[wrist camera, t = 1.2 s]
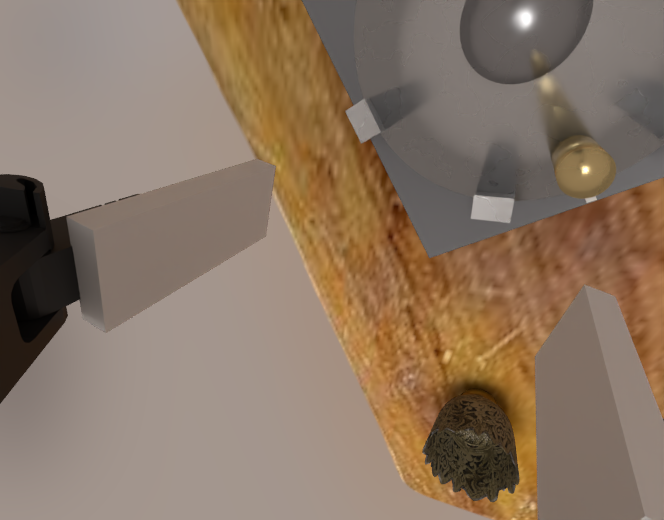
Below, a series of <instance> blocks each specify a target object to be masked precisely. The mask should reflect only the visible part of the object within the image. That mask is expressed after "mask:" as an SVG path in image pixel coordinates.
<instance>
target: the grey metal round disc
mask: <svg viewBox="0 0 664 520" xmlns="http://www.w3.org/2000/svg"><path fill="white" fill-rule="evenodd" d="M354 51H355V62H356V68H357V75H358V80H359V84H360V88H361V91H362V95H363V98H364V99H363V100H361V101H360V102H358V103H357V104H355V105H354V106H352V107H351V108H349V109H348V110H346V111H345V112H346V114H347V116H348V118H349V120H350V122H351V124H352V126H353V128H354V130H355V132H356V134H357V136H358V138H359V140H360V142H361V143H364V142H366V141H368V140H370V139H371V138H373V137H375V136H377V135H378V134H381V135H382V137H383V138H384V139H385V141H386V142H387V143H388V145H389V146H390V147H391V149H392V150H393V151H394V152H395V153H396V154H397V155H398V156H399V157H400V158H401V159H402V160H403V161H404V162H405V163H406V164H407V165H409V166H410V167H411V168H412V169H414V170H415V171H416V172H417V173H419V174H420V175H422V176H423V177H425V178H427V179H428V180H430V181H432V182H433V183H435V184H437V185H439V186H442V187H444V188H446V189H449V190H451V191H453V192H457V193H460V194H464V195H467V196H471V197H474V199H473V206H472V213H471V219H478V220H487V221H496V222H504V223H510V221H511V215H512V210H513V205H514V201H524V200H536V199H543V198H548V197H553V196H558V195H563V194H566V195H568V196H570V197H573V198H579V199H585V198H591V197H594V196H597V195H599V194H601V193H602V192H604V191H605V190H606V189H608V188H609V186H610V185H611V184H612V182H613V181H614V179H615V176H616V174H618V173H619V172H621V171H623V170H625V169H627V168H628V167H630V166H632V165H634V164H636V163H638V162H639V161H641V160H642V159H644V158H645V157H646V156H648V155H649V154H651V153H652V152H654V151H655V150H657V149H658V148H659V147H661V146H662V145H664V0H357V3H356V10H355V22H354Z"/></svg>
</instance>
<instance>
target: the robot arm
mask: <svg viewBox="0 0 664 520" xmlns="http://www.w3.org/2000/svg"><path fill="white" fill-rule="evenodd" d="M275 168H276V166H274V165H272V164H269V163H267V162H264V161H261V160H259V159H255V160H252V161H249V162H246V163H242V164H239V165H235V166H232V167H229V168H225V169H222V170H219V171H215V172H212V173H209V174H205V175H202V176H199V177H196V178H192V179H189V180H186V181H183V182H179V183H176V184H172V185H169V186H166V187H163V188H159V189H156V190H153V191H149V192H146V193H143V194H136V195H132V196H129V197H126V198H122V199H119V201H112V202H109V203H106V204H105V205H103V206H102V205H99V206H95V207H92V208H89V209H85V210H82V211H79V212H75V213H72V214H69V215H65V216H62V217H59V218H56V219H52V220H50V217H49V212H48V206H47V201H46V196H45V191H44V186H43V183H42V182H40V181H38V180H37V179H34V178H30V177H27V176H21V175H10V174H4V175H0V403H1V402H2V401H3V399H4V398H5V397H6V396H7V395H8V393H9V392H10V391H11V389H12V388H13V387H14V385H15V384H16V383H17V382H18V381H19V379H20V378H21V377H22V376H23V374H24V373H25V372H26V370H27V369H28V368H29V367H30V366H31V364H32V363H33V362H34V360H35V359H36V358H37V356H38V355H39V354H40V353H41V352H42V350H43V349H44V348H45V346H46V345H47V344H48V343H49V342H50V340H51V339H52V338H53V336H54V335H55V334H56V333H57V331H58V330H59V329H60V328H61V326H62V325H63V324H64V323H65V321H66V318H67V316H68V314H67V309H66V306H67V305H69V304H71V303H73V302H75V301H77V300H79V299H80V305H81V312H82V318H83V320H85V321H87V322H88V323H90V324H92V325H93V326H95V327H97V328H98V329H100V330H102V331H103V332H105V333H107V332H108V331H110V330H112V329H113V328H115V327H117V326H118V325H120V324H122V323H123V322H125V321H127V320H128V319H130V318H132V317H133V316H135V315H136V314H138V313H140V312H142V311H143V310H145V309H147V308H148V307H150V306H151V305H153V304H155V303H156V302H158V301H160V300H161V299H163V298H165V297H166V296H168V295H170V294H171V293H173V292H175V291H176V290H178V289H179V288H181V287H183V286H185V285H186V284H188V283H189V282H191V281H193V280H194V279H196V278H197V277H199V276H201V275H203V274H204V273H206V272H208V271H209V270H211V269H213V268H214V267H216V266H218V265H219V264H221V263H223V262H224V261H226V260H228V259H229V258H231V257H232V256H234V255H236V254H237V253H239V252H241V251H242V250H244V249H245V248H247V247H249V246H251V245H252V244H254V243H255V242H257V241H259V240H260V239H262V238H264V237H265V236H266V231H267V224H268V217H269V210H270V203H271V196H272V189H273V182H274V175H275ZM535 384H536V439H537V494H538V520H664V419H663V418H662V416H661V413H660V411H659V408H658V405H657V403H656V400H655V398H654V395H653V393H652V390H651V387H650V385H649V382H648V380H647V377H646V375H645V372H644V369H643V367H642V364H641V362H640V359H639V356H638V354H637V351H636V349H635V346H634V344H633V341H632V338H631V336H630V333H629V331H628V328H627V326H626V323H625V320H624V318H623V315H622V313H621V310H620V307H619V305H618V302H617V300H616V297H615V296H613V295H611V294H608V293H605V292H603V291H600V290H598V289H595V288H592V287H590V286H587V285H585V284H584V286H583V287H582V289H581V290H580V292H579V293H578V295H577V296H576V298H575V299H574V300H573V302H572V303H571V305H570V306H569V308H568V309H567V311H566V312H565V314H564V315H563V316H562V318H561V319H560V321H559V322H558V324H557V325H556V327H555V328H554V330H553V331H552V332H551V334H550V335H549V337H548V338H547V340H546V341H545V343H544V344H543V346H542V347H541V349H540V350H539V351H538V353H537V354H536V356H535Z"/></svg>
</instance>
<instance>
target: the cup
mask: <svg viewBox="0 0 664 520" xmlns="http://www.w3.org/2000/svg"><path fill="white" fill-rule="evenodd" d="M423 454H425V455H426V458H425V464H429V463H430V462H431V461H432V462H431V467H432V473H433V476H434V477H436V476H437V475H438V474H439V475H438V476H439V480H440V483H441V484H446V483H448V482H449V481H451V480H452V483H453V492H458V491H461V489H460V488H462V489H464V490H465V491H466V493H467V495H468V496H469V497H470V498H471V499H472V500H473V501H477V500H480V499H483V498H484V497H487V498H488V499H489V500H490V501H491V502H495V501H496V500H497V498H498V493H499V490H501V489H502V490H503V491H505V489H506V488H508V491H509V493H512V494H513V493H514V491H515V484H516V485H518V484H519V471H518V464H517V455H516V446H515V439H514V434H513V430H512V426H511V424H510V421H509V419H508V417H507V416H506V414H505V413H504V412H503V410H502V409H501V408H500V407H499V406H498V404H497V402H496V400H495V399H494V397H493V396H492V395H491V394H489V393H488V392H486V391H484V390H481V389H469V390H466V391H465V392H463V393H462V394H461V395H460V396H458V397H455V398H453V399H451V400H450V401H449V402H447V403H446V404H445V406H444V407H443V408H442V410H441V411H440V413H439V415H438V417H437V419H436V421H435V423H434V425H433V428H432V430H431V432H430V434H429V437H428V439H427V441H426V443H425V446H424V448H423Z"/></svg>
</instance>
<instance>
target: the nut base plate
mask: <svg viewBox="0 0 664 520" xmlns="http://www.w3.org/2000/svg"><path fill="white" fill-rule="evenodd" d="M302 2H303V4H304V6H305V8H306V10H307V12H308V14H309V16H310V18H311V20H312V22H313V24H314V26H315V28H316V30H317V32H318V34H319V36H320V38H321V40H322V42H323V44H324V46H325V48H326V50H327V52H328V54H329V56H330V58H331V60H332V62H333V64H334V66H335V68H336V70H337V72H338V74H339V76H340V78H341V80H342V82H343V84H344V86H345V89H346V91H347V93H348V95H349V97H350V99H351V101H352V103H353V105H355V104H357V103H358V102H360V101H361V100H363V99H364V98H363V95H362V91H361V88H360V84H359V80H358V75H357V68H356V62H355V51H354V22H355V10H356V3H357V0H302ZM371 141H372V143H373V145H374V147H375V149H376V151H377V153H378V155H379V157H380V159H381V161H382V163H383V165H384V167H385V169H386V171H387V173H388V175H389V177H390V179H391V181H392V183H393V186H394V188H395V190H396V192H397V194H398V196H399V198H400V200H401V202H402V204H403V206H404V208H405V210H406V212H407V214H408V216H409V218H410V220H411V222H412V224H413V226H414V228H415V230H416V232H417V234H418V236H419V238H420V240H421V242H422V244H423V246H424V248H425V250H426V252H427V254H428V256H429V258H431V257H434V256H437V255H440V254H443V253H446V252H449V251H452V250H454V249H457V248H460V247H463V246H466V245H469V244H472V243H475V242H478V241H480V240H483V239H486V238H489V237H492V236H495V235H498V234H501V233H504V232H507V231H509V230H512V229H515V228H518V227H521V226H524V225H527V224H530V223H533V222H536V221H538V220H541V219H544V218H547V217H550V216H553V215H556V214H559V213H562V212H565V211H567V210H570V209H573V208H576V207H579V206H582V205H585V204H588V203H591V202H593V201H596V200H599V199H602V198H605V197H608V196H611V195H614V194H617V193H620V192H622V191H625V190H628V189H631V188H634V187H637V186H640V185H643V184H646V183H649V182H651V181H654V180H657V179H660V178H663V177H664V145H662V146H661V147H659V148H658V149H657V150H655V151H654V152H652V153H651V154H649V155H648V156H646V157H645V158H644V159H642V160H641V161H639V162H638V163H636V164H634V165H632V166H630V167H628V168H627V169H625V170H623V171H621V172H619V173H618V174H616V176H615V179H614V181H613V182H612V184H611V185H610V186H609V188H608V189H606V190H605V191H604V192H602V193H601V194H599V195H597V196H594V197H591V198H585V199H579V198H573V197H570V196H568V195H566V194H563V195H558V196H553V197H548V198H543V199H536V200H524V201H514V205H513V210H512V215H511V221H510V223H504V222H496V221H487V220H478V219H471V213H472V206H473V199H474V197H471V196H467V195H464V194H460V193H457V192H453V191H451V190H449V189H446V188H444V187H442V186H439V185H437V184H435V183H433V182H432V181H430V180H428V179H427V178H425V177H423V176H422V175H420V174H419V173H417V172H416V171H415V170H414V169H412V168H411V167H410V166H409V165H407V164H406V163H405V162H404V161H403V160H402V159H401V158H400V157H399V156H398V155H397V154H396V153H395V152H394V151H393V150H392V149H391V147H390V146H389V145H388V143H387V142H386V141H385V139H384V138H383V137H382V135H381V134H378V135H377V136H375V137H373V138H371Z"/></svg>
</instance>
